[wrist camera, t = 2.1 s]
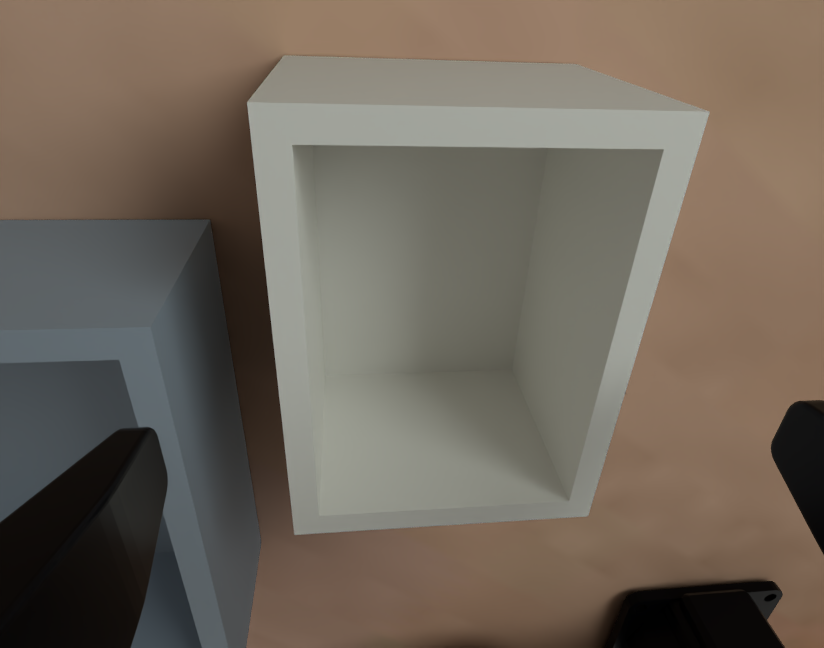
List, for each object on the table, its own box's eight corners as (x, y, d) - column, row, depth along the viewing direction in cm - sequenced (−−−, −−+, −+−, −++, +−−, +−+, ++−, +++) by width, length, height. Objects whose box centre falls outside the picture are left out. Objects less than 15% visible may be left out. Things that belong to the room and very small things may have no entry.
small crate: (522, 372, 16) (588, 515, 12) (307, 380, 15) (294, 534, 11) (576, 63, 12) (710, 111, 7) (283, 55, 11) (246, 102, 7)
